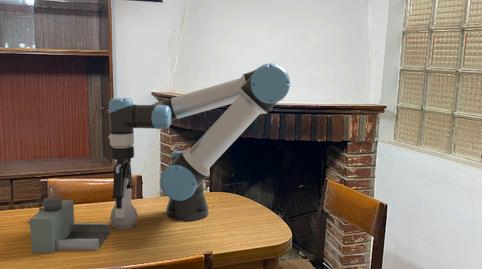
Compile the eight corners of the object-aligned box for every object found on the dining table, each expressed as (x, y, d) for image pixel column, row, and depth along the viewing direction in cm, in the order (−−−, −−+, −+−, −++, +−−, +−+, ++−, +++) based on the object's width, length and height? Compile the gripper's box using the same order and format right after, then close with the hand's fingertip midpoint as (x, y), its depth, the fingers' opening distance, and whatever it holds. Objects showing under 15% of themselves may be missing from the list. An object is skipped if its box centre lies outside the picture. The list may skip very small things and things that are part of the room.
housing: (74, 229, 145) (72, 190, 143) (53, 252, 128) (50, 208, 126) (55, 229, 145) (53, 190, 143) (31, 252, 127) (29, 208, 125)
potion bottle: (134, 230, 145) (132, 176, 143) (106, 230, 146) (104, 176, 143) (140, 221, 154) (139, 170, 151) (114, 221, 154) (113, 169, 151)
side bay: (110, 232, 144) (110, 223, 143) (97, 250, 130) (97, 240, 130) (72, 232, 143) (72, 223, 143) (55, 250, 130) (55, 240, 129)
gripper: (118, 140, 157) (120, 201, 160) (100, 152, 135) (103, 224, 138) (140, 140, 157) (141, 202, 160) (125, 152, 135) (127, 224, 138)
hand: (123, 212), depth 149 cm, fingers open, 10 cm apart
